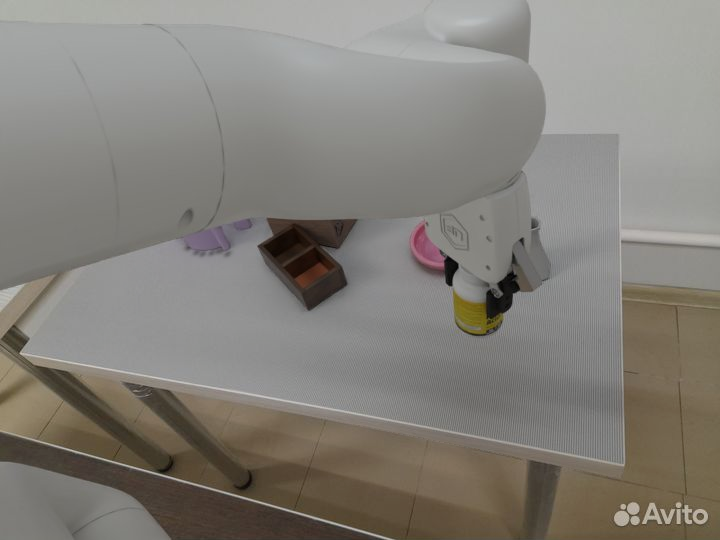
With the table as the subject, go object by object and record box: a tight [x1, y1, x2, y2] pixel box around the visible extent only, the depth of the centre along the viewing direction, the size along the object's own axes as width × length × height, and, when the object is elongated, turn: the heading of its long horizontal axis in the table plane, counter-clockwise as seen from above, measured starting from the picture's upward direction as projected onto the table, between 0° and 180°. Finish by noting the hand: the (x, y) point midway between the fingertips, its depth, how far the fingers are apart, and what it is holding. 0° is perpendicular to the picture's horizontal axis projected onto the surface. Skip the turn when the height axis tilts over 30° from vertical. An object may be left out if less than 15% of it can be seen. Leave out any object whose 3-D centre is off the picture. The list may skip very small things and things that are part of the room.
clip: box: [181, 219, 252, 251], centre depth 104 cm, size 20×12×7 cm, turn 58°
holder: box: [256, 223, 348, 312], centre depth 91 cm, size 8×15×5 cm, turn 36°
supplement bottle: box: [452, 264, 504, 340], centre depth 56 cm, size 5×5×10 cm
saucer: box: [409, 220, 445, 271], centre depth 88 cm, size 12×12×3 cm
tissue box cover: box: [265, 218, 357, 249], centre depth 101 cm, size 26×14×10 cm, turn 155°
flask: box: [529, 215, 551, 281], centre depth 80 cm, size 7×7×10 cm
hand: (478, 293), depth 56 cm, fingers closed on supplement bottle, 5 cm apart
